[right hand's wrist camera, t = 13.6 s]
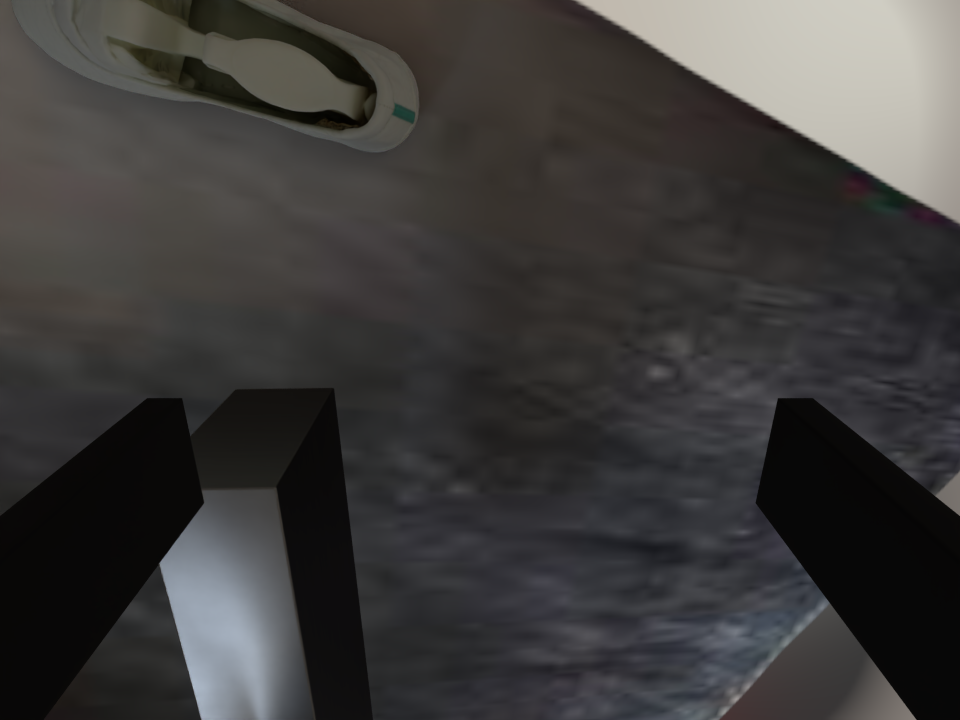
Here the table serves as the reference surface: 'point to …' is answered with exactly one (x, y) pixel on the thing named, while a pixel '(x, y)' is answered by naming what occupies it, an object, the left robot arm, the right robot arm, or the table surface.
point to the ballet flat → (235, 62)
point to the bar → (270, 565)
